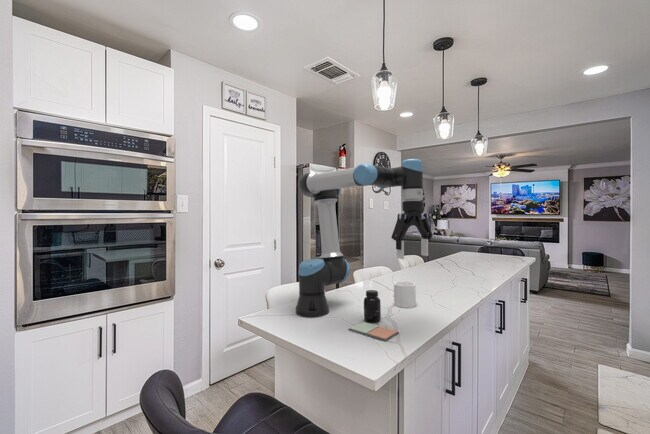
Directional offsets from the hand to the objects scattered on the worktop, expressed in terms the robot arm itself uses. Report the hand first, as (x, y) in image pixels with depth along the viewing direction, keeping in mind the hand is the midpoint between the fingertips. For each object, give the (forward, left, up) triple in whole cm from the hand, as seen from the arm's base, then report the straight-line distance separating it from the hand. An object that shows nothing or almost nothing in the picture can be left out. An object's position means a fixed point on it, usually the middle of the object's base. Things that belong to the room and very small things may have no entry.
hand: (413, 257), depth 110 cm
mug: (-17, +27, -27) cm, 42 cm away
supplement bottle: (-17, -2, -27) cm, 32 cm away
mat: (-10, -12, -27) cm, 31 cm away
